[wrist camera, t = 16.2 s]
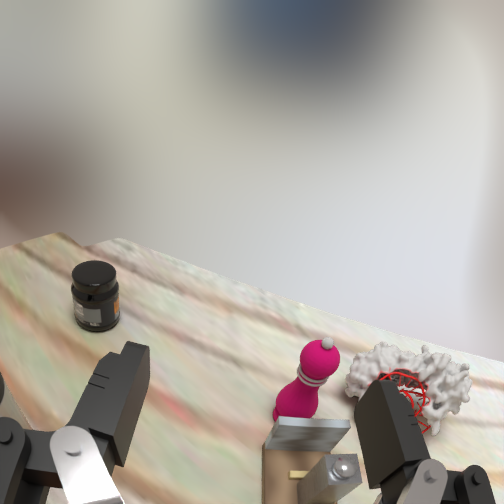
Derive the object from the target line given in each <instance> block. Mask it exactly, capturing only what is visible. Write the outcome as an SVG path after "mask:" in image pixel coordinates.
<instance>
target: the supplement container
mask: <svg viewBox="0 0 504 504" xmlns="http://www.w3.org/2000/svg"><path fill="white" fill-rule="evenodd" d="M118 291H119V284H118V282H117V280H116V270H115V268H114V267H113V266H112V265H110V264H109V263H106V262H103V261H86V262H83V263H81V264H79V265H77V266H76V267H75V268H74V269H73V271H72V285H71V292H72V296H73V303H74V310H75V318H76V320H77V322H78V323H79V325H80V326H82V327H83V328H85V329H87V330H91V331H104V330H107V329H109V328H111V327H113V326H114V325H115V324H116V323H117V322H118V320H119V316H120V311H119V293H118Z"/></svg>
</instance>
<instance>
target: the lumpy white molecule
mask: <svg viewBox="0 0 504 504" xmlns="http://www.w3.org/2000/svg"><path fill="white" fill-rule="evenodd" d="M353 361H354V362H353V364H352V365H351V366H350V373H349V374H348V375H346V378H345V383H346V384H347V385H348V387H347V388H346V389H345V393H346V394H347V395H348V396H349V397H353V396H357V397H359V400H360V399H361V397H362V396H363V395H364V393H365V392H366V390H367V389H368V387H369V386H370V384H371V383H372V382H373V381H374V380H393V381H394V382H395V383H396V385H397V386H399V387H400V386H403V385H404V384H405V386H406V387H407V388H411V387H413V388H414V389H416V388H419V389H422V393H423V394H421V393H418V392H413V390H414V389H412V390H411V391H408V390H404V388H403V389H402V390H400V391H399V392H404V393H405V394H406V396H405V397H407V396H408V397H409V398H410V400H411V404H412V408H414V402H413V399H412V397H411V396H410V395H409V394H408V393H414V394H415V395H416V394H418V395H416V396H420V395H421V396H420V397H423V398H421V399H423V404H422V407H420V405H419V403H418V402H417V404H418V405H419V407H420V410H419V411H418V412H417V413H416V414H415V417H416V416H417V415H418V414H419V413H420V411H421V413H422V414H421V415H419V416H424V417H425V418H427V422H428V424H429V427H428V426H426V425H425V424H423V423H421V422H420V421H418V422H419V423H421V424H423V425H424V426H426V427H428V428H426V429H425V430H424V431H422V434H423V433H424V432H425V431H427V430H428V429H429V428H430V427H432V432H431V435H432V436H435V435H437V433H438V432H439V428H440V420H442V419H444V418H446V415H447V412H449V411H451V412H452V413H453V414H454V415H456V414H457V413H458V412H459V410H460V405H461V402H464V403H466V402H468V401H469V400H470V397H469V396H468V392H469V390H470V388H471V385H472V379H469V372H468V370H469V364H462V365H460V364H456V363H455V362H449V361H451V356H450V355H447V354H443V355H442V354H440V353H435V354H431V353H429V352H428V347H427V346H426V345H423V346H422V354H419V355H417V356H416V355H415V354H414V353H413V352H411V351H408V352H403V351H400V350H399V348H398V347H397V346H396V345H391V346H388V344H387V343H386V342H380V343H379V344H378V345H375V347H374V349H373V350H370V351H369V352H362V353H361V352H360V353H358V354H357V355H356V356H355V357H354V359H353ZM424 389H425V390H426V392H424ZM407 392H408V393H407ZM426 397H427V398H428V399H429V402H427V403H428V404H427V403H426V404H427V405H426V404H425V398H426ZM421 399H419V400H421ZM359 400H358V402H359ZM424 404H425V406H424ZM416 411H417V410H415V412H416ZM415 412H414V413H415Z"/></svg>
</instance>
